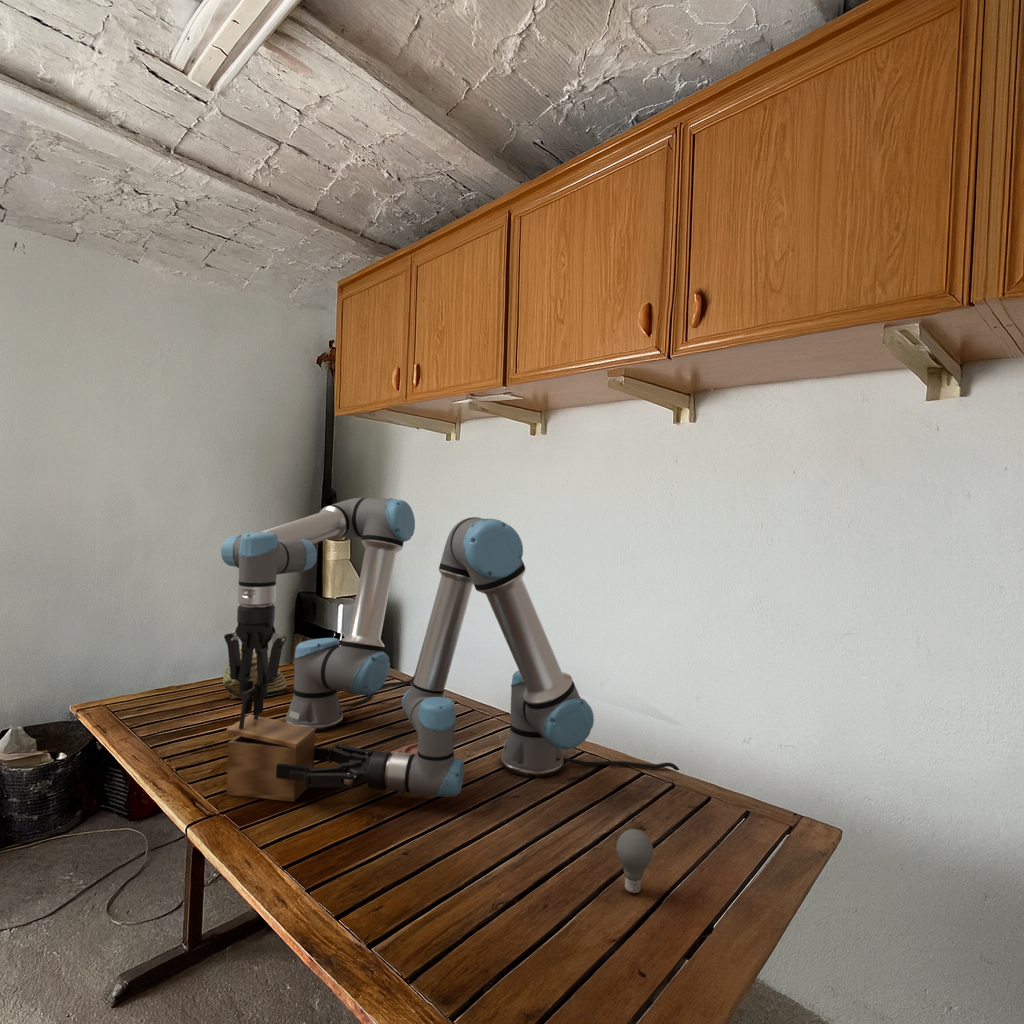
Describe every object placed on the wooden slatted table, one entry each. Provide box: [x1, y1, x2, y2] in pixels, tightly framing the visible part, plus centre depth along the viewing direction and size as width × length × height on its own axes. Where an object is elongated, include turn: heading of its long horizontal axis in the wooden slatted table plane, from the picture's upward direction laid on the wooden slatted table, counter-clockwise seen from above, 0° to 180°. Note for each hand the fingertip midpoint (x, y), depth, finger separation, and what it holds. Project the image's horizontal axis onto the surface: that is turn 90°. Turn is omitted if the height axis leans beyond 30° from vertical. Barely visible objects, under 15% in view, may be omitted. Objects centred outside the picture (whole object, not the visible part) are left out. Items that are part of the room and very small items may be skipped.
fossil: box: [222, 646, 288, 699], centre depth 198 cm, size 9×18×15 cm, turn 132°
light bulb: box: [615, 828, 654, 894], centre depth 106 cm, size 6×6×10 cm
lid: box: [225, 687, 316, 748], centre depth 136 cm, size 16×9×9 cm, turn 83°
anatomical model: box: [390, 742, 418, 755], centre depth 152 cm, size 13×4×12 cm
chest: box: [225, 732, 316, 803], centre depth 136 cm, size 15×9×11 cm, turn 83°
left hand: (252, 712), depth 137 cm, fingers closed on lid, 2 cm apart
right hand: (288, 761), depth 136 cm, fingers closed on chest, 9 cm apart
